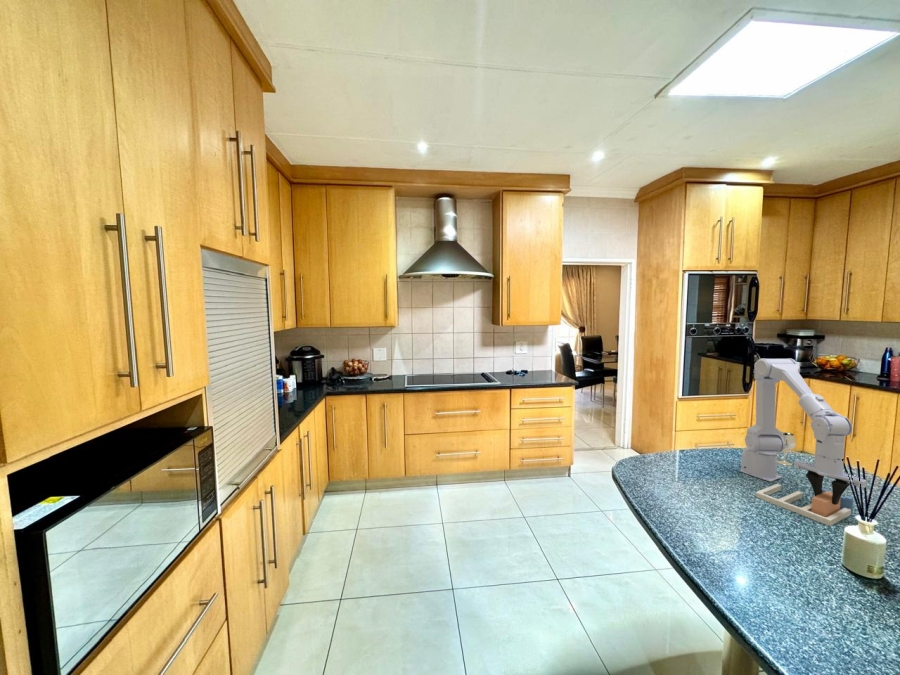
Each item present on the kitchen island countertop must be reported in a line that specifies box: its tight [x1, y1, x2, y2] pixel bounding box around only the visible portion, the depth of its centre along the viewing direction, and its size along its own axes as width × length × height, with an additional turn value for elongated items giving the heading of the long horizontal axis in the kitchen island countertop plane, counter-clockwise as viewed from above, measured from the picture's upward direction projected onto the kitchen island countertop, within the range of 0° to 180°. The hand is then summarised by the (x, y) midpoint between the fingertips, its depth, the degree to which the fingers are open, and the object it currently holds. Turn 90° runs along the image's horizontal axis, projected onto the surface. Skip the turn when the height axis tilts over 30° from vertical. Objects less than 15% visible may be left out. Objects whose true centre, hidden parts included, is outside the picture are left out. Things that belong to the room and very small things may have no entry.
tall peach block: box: [811, 491, 841, 517], centre depth 104 cm, size 3×9×4 cm, turn 114°
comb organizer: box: [755, 483, 852, 527], centre depth 109 cm, size 17×13×2 cm
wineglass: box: [777, 431, 797, 467], centre depth 138 cm, size 6×6×12 cm
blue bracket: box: [822, 487, 854, 515], centre depth 106 cm, size 6×2×5 cm, turn 24°
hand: (826, 500), depth 104 cm, fingers closed on tall peach block, 3 cm apart
